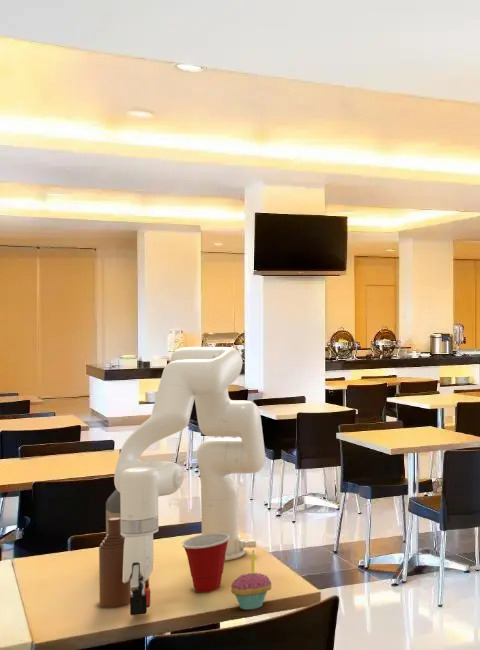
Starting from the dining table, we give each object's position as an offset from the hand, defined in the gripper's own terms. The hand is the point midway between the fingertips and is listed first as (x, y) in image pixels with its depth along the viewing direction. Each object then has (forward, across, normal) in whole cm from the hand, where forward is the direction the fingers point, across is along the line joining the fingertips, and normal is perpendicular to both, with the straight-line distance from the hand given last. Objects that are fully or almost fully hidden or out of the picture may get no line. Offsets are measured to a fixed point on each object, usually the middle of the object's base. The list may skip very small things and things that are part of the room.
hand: (140, 610), depth 187 cm
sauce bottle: (+1, -11, -7) cm, 13 cm away
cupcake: (+2, 0, +23) cm, 23 cm away
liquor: (+1, -44, -10) cm, 45 cm away
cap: (-1, 0, 0) cm, 1 cm away
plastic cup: (+2, -16, +12) cm, 20 cm away
